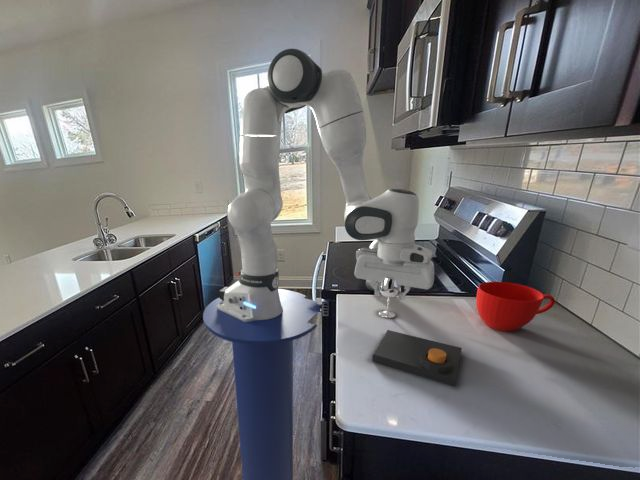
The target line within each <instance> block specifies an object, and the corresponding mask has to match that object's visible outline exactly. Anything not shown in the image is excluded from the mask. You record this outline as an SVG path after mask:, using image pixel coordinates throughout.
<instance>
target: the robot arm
mask: <svg viewBox="0 0 640 480" xmlns="http://www.w3.org/2000/svg"><path fill="white" fill-rule="evenodd" d="M266 79H267V86H265V87H258V88H254V89H252V90H250V91H249V92H248V93H247V94H245V97H244V99H243V104H242V108H241V109H242V110H241V116H240V123H239V124H240V126H239V157H238V159H239V160H238V161H239V169H240V171H241V172H242V175H243V181H244V186H245V191H244V192H241V193H239V194H237V196H236V197H235V198H234V199H232V200H231V202H230V203H229V205H228V206H227V207H228V208H227V219H228V222H229V224H230V225H231V227H232V228H233V229H234V230H235V233H236V236H237V239H238V244H239V246H240V247H239V248H240V255H241V257H240V258H241V269H240V270H239V271H238V272H235V277H238V276H239V277H238V280H237V281H235V282H234V283H232V284H231V285H230V286H224V287H223V288H221V289H219V290H218V295H219V297H220V299H222V301H221V302H220V303H219V304H218V309H219V310H221V311H223V312H225V313H227V314H229V315H231V316H233V317H235V318H237V319H240V320H242V321H244V322H250V321H254V320H267V319H272V318H275V317H277V316H279V315H280V314H281V313H282V311H283V308H282V305H281V302H280V297H279V291H278V289H279V283H280V279H279V278H280V275H279V274H280V273H279V268H278V247H277V244H276V242H275V241H274V236H273V232H272V222H274V221H275V220H276V219H277V218H278V217H279V215H280V214H281V212H282V209H283V205H284V202H283V197H282V189H281V180H280V179H281V178H280V151H281V134H282V122H283V118H284V115H285V114H289V113H291V112H294V111H298V110H300V109H303V108H305V107H309V108H310V109H311V110H312V113H313V115H314V118H315V121H316V127H317V130H318V135H319V138H320V141H321V144H322V146H323V149H324V150H325V153H326V155H327V156H328V158H329V159H330V160H331V162H332V163H333V165H334V166H335V168H336V170H337V172H338V174H339V175H338V176H339V178H340V182H341V186H342V191H343V194H344V200H345V201H344V202H345V203H344V204H345V205H344V209H343V215H342V218H343V223H344V230H345V231H346V233H347V235H348V236H349V237H350V238H352V239H354V240H355V241H369V240H375V239H377V238H379V241H378V249H375V248H369V247H364V246H363V247H361V248H358V249H357V250H356V252H355V260H356V263H355V267H354V277H355V278H356V279H359V280H360V279H361V280H365V281H366V280H371V281H372V282H371V284H372V286H373V288H374V290H375V291H374V293H373V295H374V296H379V297H380V296H381V295H382V294H381V293H380V291H379V287H378V285H377V283H378V282H382V280H383V279H384V277H385V278H388V279H395V280H396V283H397V285H401V287H402V286H403V290H404V291H401V292H400V293H399V295H398V296H397V299H398V300H400V301H405V299H406V295H407V294H408V293H409V292H410V290H411V289H412V288H415V289H421V290H430V289H431V288H433V285H434V282H435V264H434V262H433V261H432V258H433V254H434V253H433V250H431V249H429V248H427V247H424V246H421V245H419V244H416V237H415V236H416V235H415V231H416V229H417V226H418V223H419V222H418V221H419V213H420V199H419V196H418V195H417V194H416V193H415V192H413V191H411V190H407V189H403V188H388V189H386V191H384V192H383V193H381V194H379V195H378V196H376V197H374V198H371V196H370V195H369V191H368V187H367V183H366V178H365V173H364V165H363V157H364V152H365V147H366V144H367V127H366V125H367V124H366V119H365V118H366V117H365V112H364V109H363V108H364V107H363V103H362V100H361V96H360V94H359V91H358V88H357V86H356V82H355V80H354V78H353V76H352V74H351V72H349V71H348V70H346V69H339V68H338V69H333V70H330V71H327V72H324V73H323V69H322V68H321V67H320V66H319V65H318V64H317V63H316V62H315V61H314V60H313V59H312V58H311V57H310V56H309V54H307V53H306V52H304V51H302V50H301V49H298V48H287V49H283V50H282V51H280V52H278V53H277V54H276V55H275V56H274V58H273V59H272V61H271V62H270V64H269V66H268V70H267V78H266Z"/></svg>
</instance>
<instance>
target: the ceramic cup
mask: <svg viewBox="0 0 640 480" xmlns="http://www.w3.org/2000/svg"><path fill="white" fill-rule="evenodd" d="M475 298H476V299H475V305H476V310H477V313H478V315H479V317H480V319H481V320H482V321H483V322H484V324H485V326H487V327H489V328H491V329H493V330H496V331H502V332H515V331H516V330H518V329H522V328H523V327H524V326H526V325H528V324H529V323H530V322H532V320H534V318H535V317H536V315H540V314H542V313H545V312H547V311H548V310H551V309H552V308H553V307H554V305H555V303H556V299H555V297H554V296H552V295H550V294H543V293H542V292H541V291H540V290H538V289H535V288H533V287H530V286H527V285H523V284H520V283H513V282H508V281H507V282H506V281H486V282H481V283H480V284H479V285H478V287H477V291H476V297H475ZM544 299H549V301H548V303H547V304H545V305H544V306H543V307H542V304H543V301H544Z"/></svg>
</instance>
